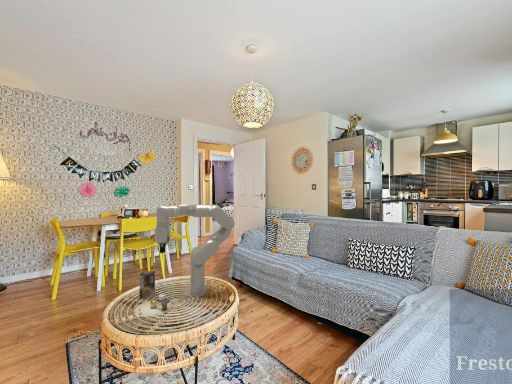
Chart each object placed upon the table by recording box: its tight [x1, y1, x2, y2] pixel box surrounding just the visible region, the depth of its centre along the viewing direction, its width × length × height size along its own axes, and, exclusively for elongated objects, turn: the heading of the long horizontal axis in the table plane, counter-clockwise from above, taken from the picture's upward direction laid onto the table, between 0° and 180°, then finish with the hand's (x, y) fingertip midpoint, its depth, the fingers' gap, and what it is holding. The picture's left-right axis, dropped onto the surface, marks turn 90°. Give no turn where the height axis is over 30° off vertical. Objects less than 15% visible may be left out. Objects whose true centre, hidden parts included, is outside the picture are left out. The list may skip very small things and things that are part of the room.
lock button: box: [157, 293, 166, 302], centre depth 150 cm, size 4×4×4 cm
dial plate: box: [134, 297, 173, 318], centre depth 144 cm, size 20×20×3 cm
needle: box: [149, 298, 168, 310], centre depth 143 cm, size 12×4×4 cm, turn 69°
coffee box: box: [139, 270, 156, 300], centre depth 160 cm, size 9×6×16 cm
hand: (162, 252), depth 161 cm, fingers closed
